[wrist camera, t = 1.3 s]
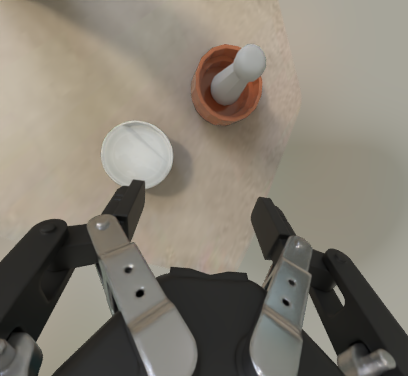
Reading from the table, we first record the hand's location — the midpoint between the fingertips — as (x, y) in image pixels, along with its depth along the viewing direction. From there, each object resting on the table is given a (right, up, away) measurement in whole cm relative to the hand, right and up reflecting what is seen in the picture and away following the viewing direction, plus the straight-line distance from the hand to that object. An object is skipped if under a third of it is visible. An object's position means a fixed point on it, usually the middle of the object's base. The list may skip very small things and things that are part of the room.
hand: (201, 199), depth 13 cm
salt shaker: (+4, +19, +24) cm, 31 cm away
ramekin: (-12, +7, +22) cm, 26 cm away
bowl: (+4, +19, +24) cm, 31 cm away
